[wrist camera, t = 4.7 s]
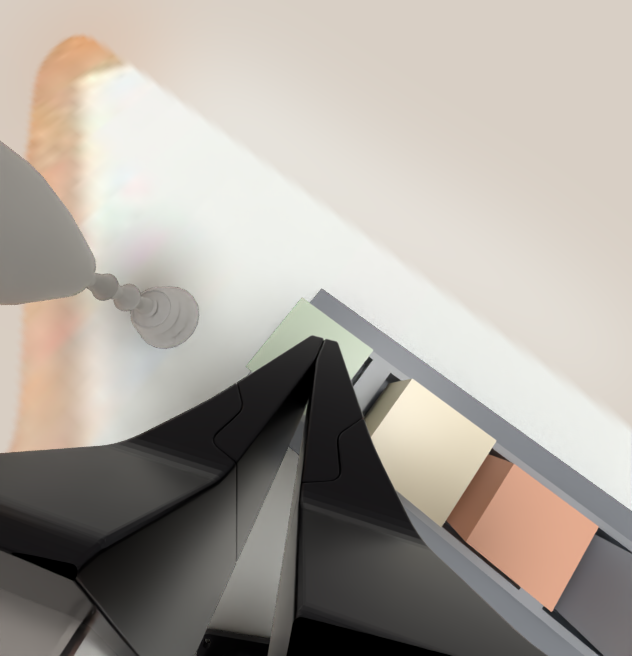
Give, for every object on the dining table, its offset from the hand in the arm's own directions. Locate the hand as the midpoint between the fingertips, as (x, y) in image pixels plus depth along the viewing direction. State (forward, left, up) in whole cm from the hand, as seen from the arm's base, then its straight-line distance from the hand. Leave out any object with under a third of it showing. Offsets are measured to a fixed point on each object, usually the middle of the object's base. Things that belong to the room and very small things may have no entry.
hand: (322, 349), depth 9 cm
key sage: (-1, 0, -9) cm, 9 cm away
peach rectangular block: (+9, -6, -11) cm, 16 cm away
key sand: (+4, -3, -9) cm, 11 cm away
